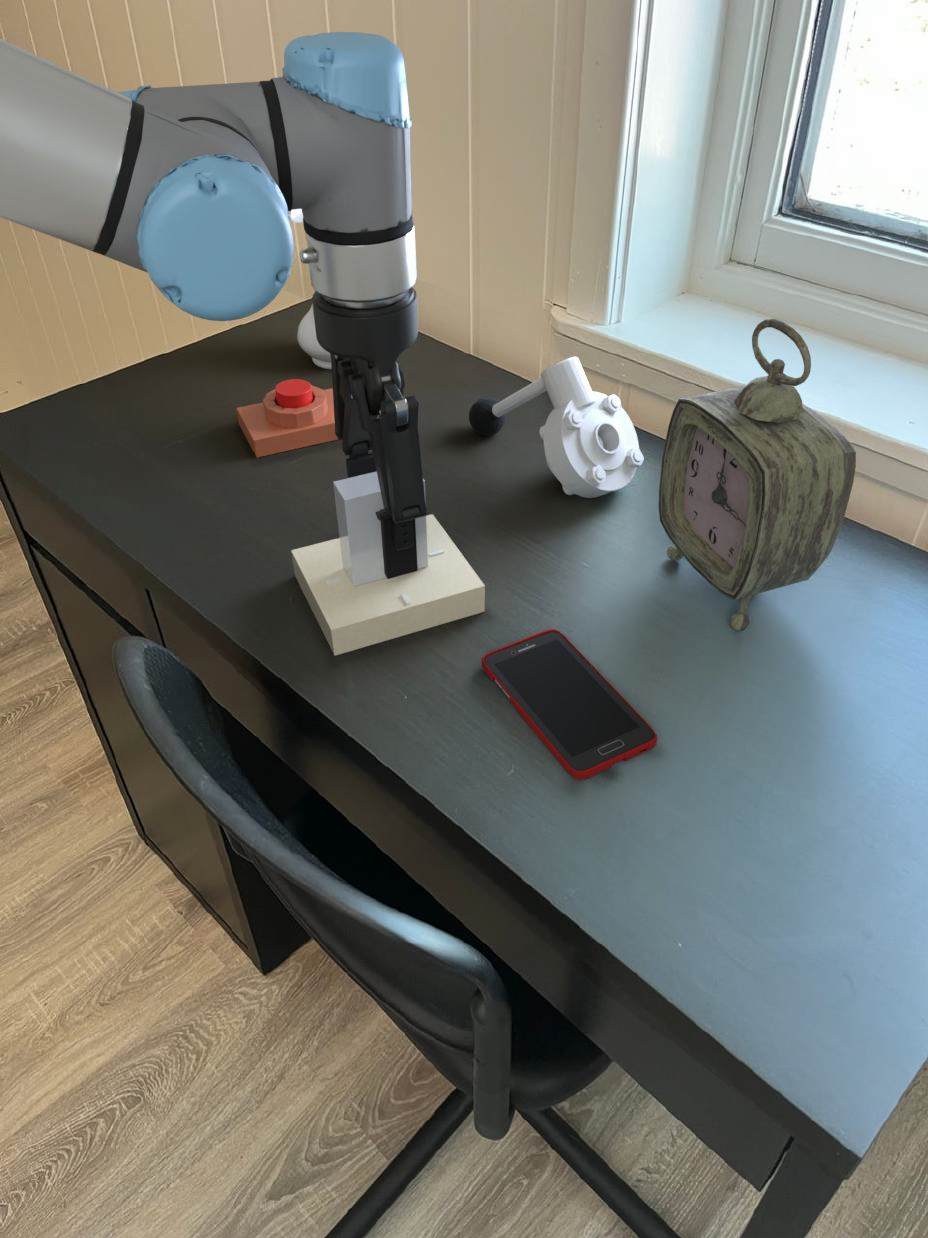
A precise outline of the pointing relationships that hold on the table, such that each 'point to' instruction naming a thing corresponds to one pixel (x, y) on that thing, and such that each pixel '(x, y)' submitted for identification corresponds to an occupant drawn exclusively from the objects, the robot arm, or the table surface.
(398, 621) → the cream rectangular base
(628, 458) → the mechanical valve
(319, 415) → the button block
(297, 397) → the button
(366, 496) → the grey rectangular block
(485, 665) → the cell phone
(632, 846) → the table surface
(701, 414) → the tabletop clock
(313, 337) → the flower vase
